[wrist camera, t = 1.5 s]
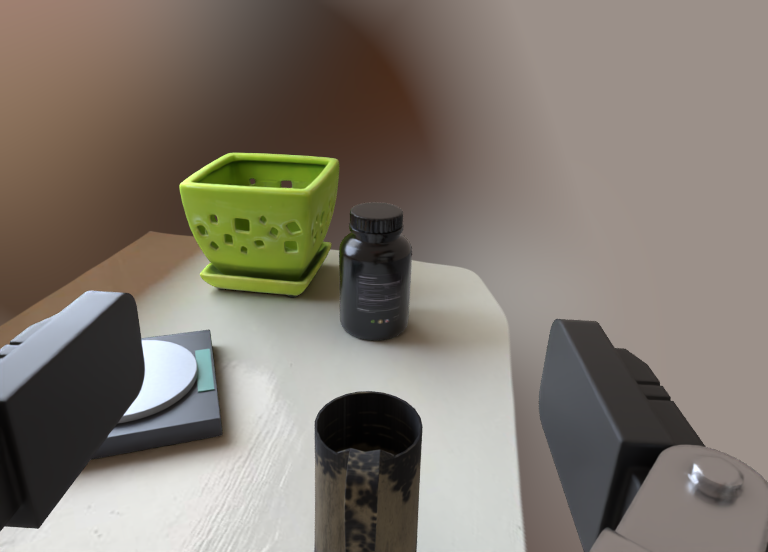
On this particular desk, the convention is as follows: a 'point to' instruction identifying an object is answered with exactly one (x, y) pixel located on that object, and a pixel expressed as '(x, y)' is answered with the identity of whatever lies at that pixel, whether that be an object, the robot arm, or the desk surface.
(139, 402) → the scale
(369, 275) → the supplement bottle
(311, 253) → the flower pot
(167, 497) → the desk surface
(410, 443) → the mug
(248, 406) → the desk surface
